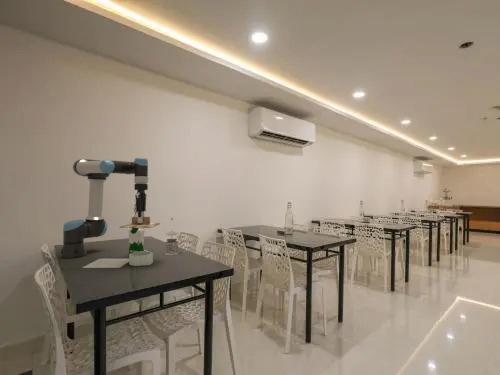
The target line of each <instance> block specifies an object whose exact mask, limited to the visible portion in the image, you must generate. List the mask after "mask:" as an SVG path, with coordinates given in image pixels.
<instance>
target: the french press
mask: <svg viewBox="0 0 500 375" xmlns="http://www.w3.org/2000/svg"><path fill="white" fill-rule="evenodd" d="M170 220H174V217H170ZM178 234H179V233H178V232H176V231H173V230H171V231H168V232H167V233H165V235H166V236H176V235H177V236H176V238H167V239H166V242H165V252H164V255H167V256H176V255H179V254H180V253H179V251H178V250H179V249H178V247H180V246H181V244H182V240H183V239H182V237H181V236H179V235H178ZM178 239H179V242H180V243H179V244H178V241H177V240H178Z"/></svg>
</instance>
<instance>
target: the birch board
mask: <svg viewBox="0 0 500 375" xmlns="http://www.w3.org/2000/svg"><path fill="white" fill-rule="evenodd" d="M160 224H161V222H151V217H150V216H144V217H143V223H138V216H131V222H130V223H129V222H128V223H125V224H123V225H120V226H119V229H132V228H138V229H152V228H154V227H157V226H159V225H160Z"/></svg>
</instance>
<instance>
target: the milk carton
mask: <svg viewBox="0 0 500 375" xmlns="http://www.w3.org/2000/svg"><path fill="white" fill-rule="evenodd" d="M145 230H146V228H130V229H127V232H128V255H129V254H130V253H133V252H139V251H145V248H144V245H145V241H144V240H145Z"/></svg>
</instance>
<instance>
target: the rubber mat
mask: <svg viewBox="0 0 500 375" xmlns="http://www.w3.org/2000/svg"><path fill="white" fill-rule="evenodd" d="M127 263H129V258H98V259H96V260H94V261H93V262H90V263H88V264H86V265H85V266H82V267H81V268H82V269H83V268H84V269H87V268H88V269H90V268H91V269H92V268H94V269H95V268H97V269H100V268H101V269H103V268H105V269H108V268H109V269H110V268H111V269H112V268H113V269H115V268H118V269H119V268H120V269H121V267H124V266H125V265H126V264H127Z"/></svg>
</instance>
